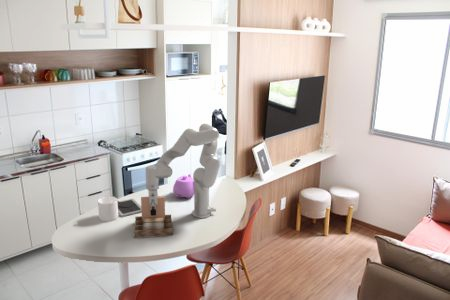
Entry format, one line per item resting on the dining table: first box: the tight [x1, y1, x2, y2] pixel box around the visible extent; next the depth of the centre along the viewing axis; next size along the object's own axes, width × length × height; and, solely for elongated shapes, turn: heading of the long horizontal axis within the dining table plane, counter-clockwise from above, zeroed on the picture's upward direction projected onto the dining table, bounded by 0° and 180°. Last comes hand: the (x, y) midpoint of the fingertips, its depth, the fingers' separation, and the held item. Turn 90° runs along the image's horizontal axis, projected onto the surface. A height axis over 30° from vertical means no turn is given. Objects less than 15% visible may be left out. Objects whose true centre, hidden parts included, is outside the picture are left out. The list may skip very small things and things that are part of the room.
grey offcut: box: [143, 223, 164, 230], centre depth 231 cm, size 12×4×6 cm, turn 96°
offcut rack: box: [133, 214, 174, 238], centre depth 237 cm, size 22×18×4 cm
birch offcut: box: [143, 218, 164, 223], centre depth 237 cm, size 12×4×6 cm, turn 101°
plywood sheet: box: [140, 195, 166, 220], centre depth 240 cm, size 14×2×18 cm, turn 100°
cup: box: [97, 195, 119, 222], centre depth 248 cm, size 12×12×12 cm
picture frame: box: [117, 198, 142, 218], centre depth 262 cm, size 16×3×21 cm
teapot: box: [172, 173, 194, 200], centre depth 284 cm, size 20×20×15 cm
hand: (153, 211), depth 240 cm, fingers open, 9 cm apart
